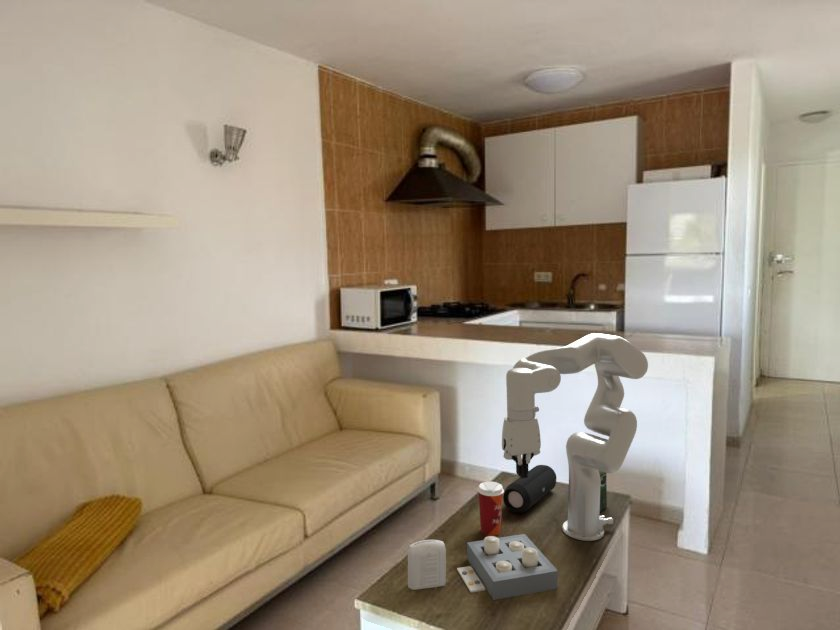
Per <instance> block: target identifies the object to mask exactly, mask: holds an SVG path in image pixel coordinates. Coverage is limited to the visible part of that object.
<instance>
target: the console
mask: <svg viewBox="0 0 840 630" xmlns="http://www.w3.org/2000/svg"><path fill="white" fill-rule="evenodd" d="M497 538H498V539H499V554H496V555H490V556H486V554H485V553H484V539H482V540H476V541H474V540H473V541H469V542H466V559H467V561H468V563H469V564H470V566H471V567H472V569H473V570H474V572H475V573H476V575H477V576H478V578H479V580H480V581H481V583H482V584H483V586H484V587H485V590H486V591H487V592H488V594H489V595H490V597H491V598H492V600H493V601H496V600H502V599H509V598H513V597H518V596H524V595H530V594H535V593H541V592H547V591H552V590H558V588H559V587H558V581H559V580H558V579H559V577H558V576H559V570H558V569H557V568H556V567H555V566H554V565H553V563H552V562H550V560H549V559H548V558H547V556H545V555H544V553H543V552H541V550H540V549H539V548H538V547H537V546H536V545H535V543H534V542H533V541H532V540H531V539H530V538H529V537H528V536H527V535H526V534H525V533H523V534H522V533H521V534H514V535H508V536H501V537H497ZM513 541H518V542H521V543H523V544H524V548H534V549H536V550H537V551H538V567H532V568H526V569H525V568H524V566H523V565H522V564H521V563H520V561H522V551H515V552H511V550H510V549H509V543H510V542H513ZM499 561H507V562H509V563H511V564H512V571H508V572H502V573H498V571H497V570H496V563H497V562H499Z"/></svg>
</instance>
